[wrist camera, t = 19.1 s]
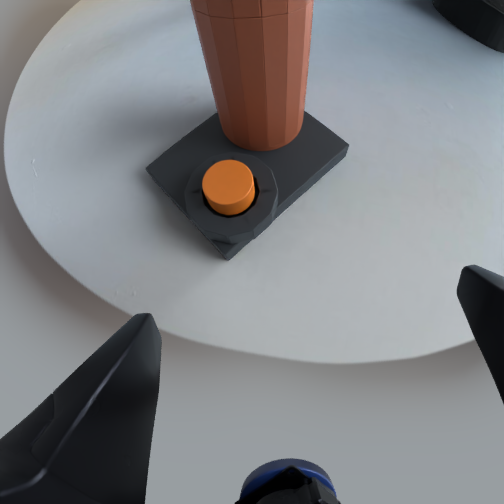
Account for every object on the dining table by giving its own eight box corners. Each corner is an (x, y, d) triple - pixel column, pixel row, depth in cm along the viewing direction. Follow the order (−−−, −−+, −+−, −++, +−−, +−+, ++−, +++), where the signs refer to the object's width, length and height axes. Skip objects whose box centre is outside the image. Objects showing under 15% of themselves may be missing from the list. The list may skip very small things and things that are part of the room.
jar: (235, 162, 23) (198, -3, 9) (212, 105, 24) (176, -36, 11) (315, 138, 23) (339, -22, 9) (283, 85, 25) (283, -54, 11)
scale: (232, 267, 22) (225, 254, 19) (151, 178, 25) (136, 157, 21) (350, 160, 24) (360, 135, 21) (262, 94, 26) (261, 67, 23)
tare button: (228, 225, 20) (224, 214, 18) (197, 193, 20) (191, 181, 19) (264, 193, 20) (264, 180, 18) (233, 164, 21) (229, 150, 19)
